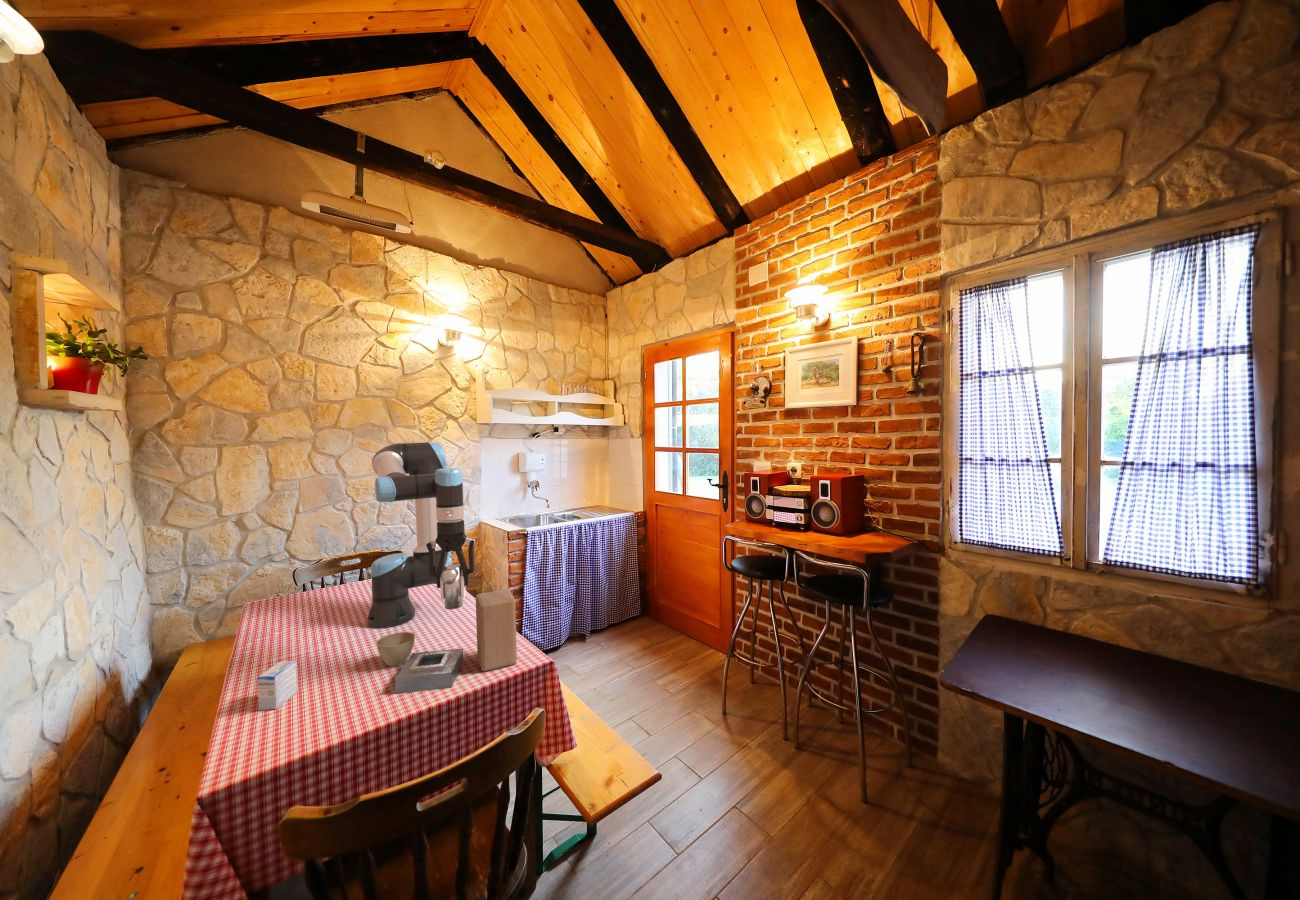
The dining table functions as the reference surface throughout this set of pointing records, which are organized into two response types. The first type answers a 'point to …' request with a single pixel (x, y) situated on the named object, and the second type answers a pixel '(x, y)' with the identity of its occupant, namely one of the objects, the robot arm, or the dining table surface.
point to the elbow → (452, 586)
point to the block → (496, 629)
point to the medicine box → (277, 685)
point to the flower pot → (396, 647)
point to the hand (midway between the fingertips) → (453, 597)
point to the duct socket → (429, 670)
